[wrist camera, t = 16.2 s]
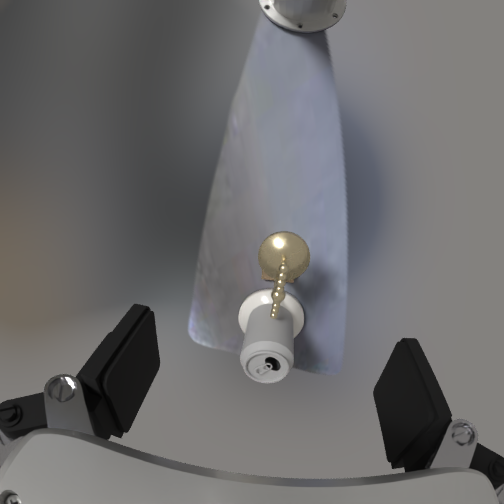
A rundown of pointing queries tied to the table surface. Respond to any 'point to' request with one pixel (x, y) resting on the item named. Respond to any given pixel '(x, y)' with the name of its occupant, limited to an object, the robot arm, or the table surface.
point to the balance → (282, 263)
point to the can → (268, 345)
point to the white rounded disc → (265, 298)
